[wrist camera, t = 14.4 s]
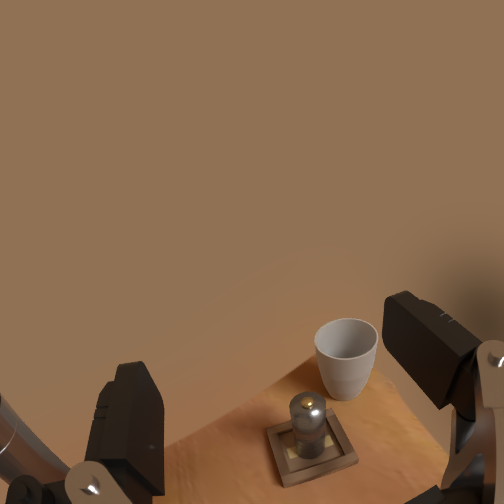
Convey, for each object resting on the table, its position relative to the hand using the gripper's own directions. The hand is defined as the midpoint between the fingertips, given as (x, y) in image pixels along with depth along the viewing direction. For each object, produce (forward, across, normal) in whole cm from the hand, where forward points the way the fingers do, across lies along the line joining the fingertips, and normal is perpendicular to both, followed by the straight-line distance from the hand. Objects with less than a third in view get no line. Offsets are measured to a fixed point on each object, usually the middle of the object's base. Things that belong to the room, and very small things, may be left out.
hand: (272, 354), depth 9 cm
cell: (+11, -4, +27) cm, 30 cm away
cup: (+19, -12, +28) cm, 36 cm away
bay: (+11, -4, +28) cm, 30 cm away
